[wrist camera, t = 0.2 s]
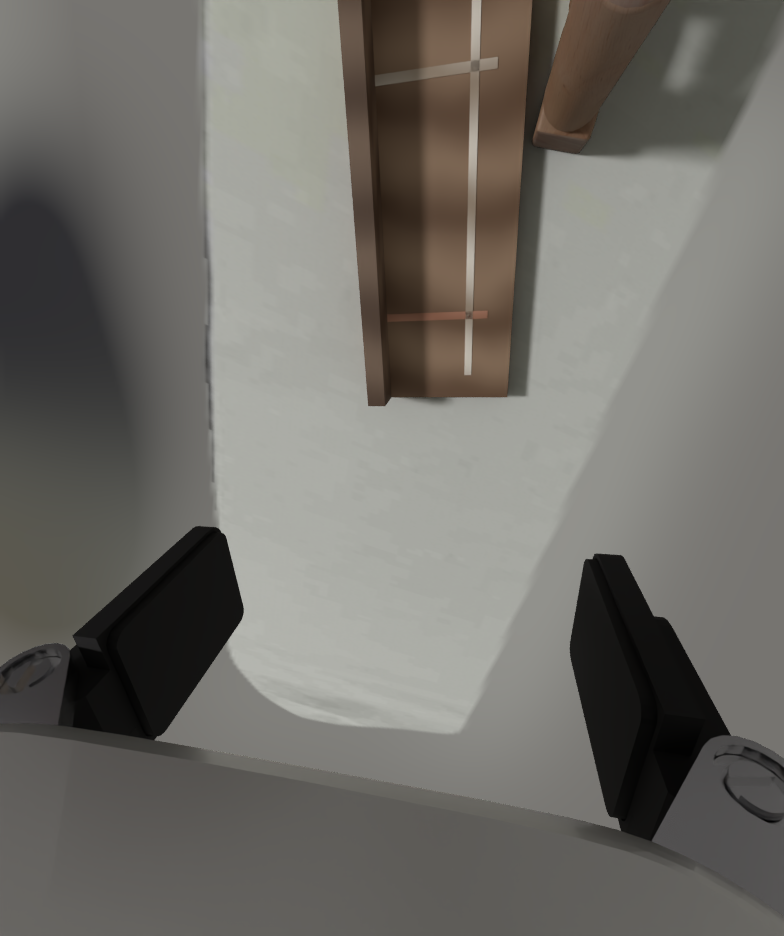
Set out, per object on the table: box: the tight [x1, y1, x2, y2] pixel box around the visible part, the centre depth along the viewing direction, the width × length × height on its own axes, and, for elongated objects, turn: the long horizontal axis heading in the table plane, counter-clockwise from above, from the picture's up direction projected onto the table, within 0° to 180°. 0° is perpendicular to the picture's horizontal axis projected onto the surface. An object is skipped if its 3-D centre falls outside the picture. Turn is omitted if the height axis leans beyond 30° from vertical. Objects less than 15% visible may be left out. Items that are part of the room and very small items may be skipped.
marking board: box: [338, 0, 532, 406], centre depth 32 cm, size 30×12×4 cm, turn 3°
